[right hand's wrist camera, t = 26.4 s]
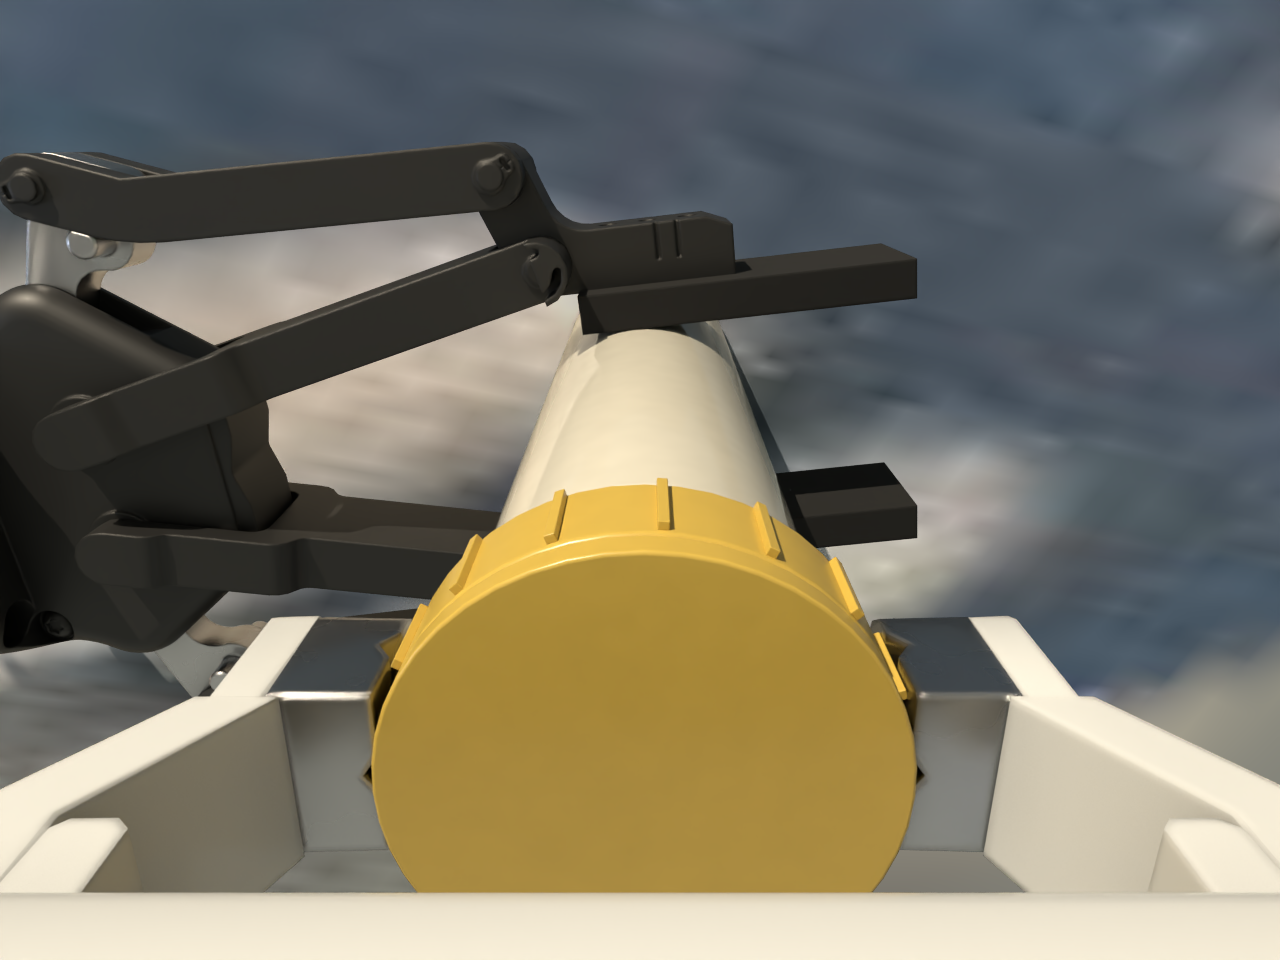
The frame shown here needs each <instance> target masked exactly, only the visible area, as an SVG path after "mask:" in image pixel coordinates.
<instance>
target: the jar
mask: <svg viewBox="0 0 1280 960" xmlns="http://www.w3.org/2000/svg"><path fill="white" fill-rule="evenodd" d="M657 478H667V479H668V486H678V487H683V488H689V489H694V490H699V491H705V492H710V493H714V494H717V495H720V496H723V497H726V498H729V499H732V500H735V501H738V502H742V503H744V504H746V505H748V506H750V507H754V506H755V504H756V502H760V503H762V504H764V505H766V507H767V510H768V513H769V515H770V516H772V517H773V518H775V519H777V520H778V521H780V522H781V523H783V524H784V525H786V526H788V527H789V528H791V529H792V530H794V531H795V532H797V531H796V528H795V525H794V522H793V520H792V517H791V514H790V512H789V509H788V506H787V504H786V501H785V498H784V495H783V493H782V490H781V487H780V485H779V482H778V479H777V476H776V474H775V471H774V468H773V466H772V463H771V460H770V458H769V455H768V452H767V449H766V447H765V444H764V441H763V439H762V436H761V433H760V431H759V428H758V425H757V422H756V420H755V417H754V414H753V412H752V409H751V406H750V404H749V401H748V398H747V395H746V393H745V390H744V387H743V385H742V382H741V379H740V377H739V374H738V371H737V368H736V366H735V363H734V360H733V358H732V355H731V352H730V350H729V347H728V344H727V341H726V339H725V336H724V333H723V331H722V328H721V325H720V322H719V320H715V321H706V322H697V323H688V324H679V325H670V326H661V327H652V328H643V329H634V330H625V331H616V332H607V333H598V334H589V335H583V333H582V326H581V318H580V313H579V315H578V317H577V319H576V322H575V324H574V327H573V329H572V332H571V335H570V337H569V340H568V342H567V345H566V347H565V350H564V353H563V355H562V358H561V360H560V363H559V365H558V368H557V371H556V373H555V376H554V378H553V381H552V383H551V386H550V389H549V391H548V394H547V396H546V399H545V401H544V404H543V407H542V409H541V412H540V414H539V417H538V419H537V422H536V425H535V427H534V430H533V432H532V435H531V437H530V440H529V443H528V445H527V448H526V450H525V453H524V455H523V458H522V461H521V463H520V466H519V468H518V471H517V473H516V476H515V478H514V481H513V484H512V486H511V489H510V491H509V494H508V496H507V499H506V502H505V504H504V507H503V509H502V512H501V514H500V517H499V520H498V522H497V525H496V527H495V529H497V528H499V527H500V526H502V525H503V524H505V523H507V522H508V521H510V520H511V519H513V518H514V517H516V516H518V515H520V514H522V513H524V512H526V511H529V510H531V509H533V508H535V507H537V506H539V505H542V504H544V503H546V502H549V501H552V500H553V496H554V493H555V492H556V491H559V490H562V489H565V491H566V494H567V496H568V495H571V494H574V493H578V492H582V491H588V490H593V489H599V488H605V487H610V486H625V485H643V484H647V485H656V482H657Z"/></svg>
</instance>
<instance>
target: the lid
mask: <svg viewBox="0 0 1280 960" xmlns="http://www.w3.org/2000/svg"><path fill="white" fill-rule="evenodd" d="M391 667H392V668H394V669H396V670H399V671H398V673H397V675H396V677H395V680H394V682H393V684H392V686H391V688H390V690H389V693H388V695H387V697H386V699H385V701H384V703H383V706H382V709H381V713H380V717H379V720H378V724H377V727H376V731H375V734H374V743H373V752H372V761H371V768H372V787H373V796H374V801H375V805H376V810H377V815H378V819H379V823H380V826H381V829H382V831H383V834H384V836H385V839H386V842H387V844H388V847H389V849H390V851H391V853H392V855H393V857H394V858H395V860H396V862H397V864H398V865H399V867H400V869H401V871H402V873H403V874H404V876H405V877H406V878H407V880H408V881H409V882H410V884H411V885H412V886H413V888H414V889H415V890H416V892H417V893H872V892H873V891H874V890H875V888H876V887H877V886H878V885H879V883H880V882H881V881H882V879H883V878H884V876H885V875H886V873H887V871H888V870H889V868H890V866H891V864H892V863H893V861H894V859H895V857H896V856H897V854H898V852H899V849H900V847H901V844H902V842H903V839H904V837H905V834H906V832H907V829H908V826H909V822H910V818H911V813H912V809H913V804H914V800H915V794H916V777H917V761H916V751H915V742H914V735H913V732H912V728H911V724H910V721H909V717H908V713H907V710H906V707H905V705H904V703H903V700H905V699H907V691H906V689H905V686H904V684H903V682H902V680H901V678H900V676H899V674H898V671H897V669H896V667H895V665H894V663H893V661H892V658H891V656H890V654H889V652H888V650H887V648H886V645H885V643H884V641H883V639H882V637H881V635H880V633H879V632H877V633H874V634H873V633H872V631H871V629H870V627H869V624H868V622H867V620H866V618H865V616H864V612H863V610H862V608H861V606H860V604H859V601H858V599H857V597H856V595H855V592H854V590H853V588H852V586H851V583H850V581H849V579H848V577H847V575H846V572H845V570H844V568H843V566H842V563H841V562H840V561H839V560H838V559H837V558H836V557H834V558H833V559H832V560H830V561H828V560H827V559H826V558H825V556H824V555H823V554H822V553H821V552H820V551H818V550H817V549H816V548H815V547H814V546H813V545H811V544H810V543H809V542H808V541H807V540H806V539H804V538H803V537H802V536H801V535H800V534H798V533H797V532H795V531H794V530H792V529H791V528H789V527H788V526H786V525H784V524H783V523H781V522H780V521H778V520H777V519H775V518H773V517H772V516H770V515H769V513H768V510H767V507H766V505H764V504H762V503H760V502H756V504H755V506H754V507H750V506H748V505H746V504H744V503H742V502H738V501H735V500H732V499H729V498H726V497H723V496H720V495H717V494H714V493H710V492H705V491H699V490H694V489H689V488H683V487H678V486H668V479H667V478H657V482H656V485H647V484H643V485H625V486H610V487H605V488H599V489H593V490H588V491H582V492H578V493H574V494H571V495H568V496H567V494H566V491H565V489H562V490H559V491H556V492H555V493H554V496H553V500H552V501H549V502H546V503H544V504H542V505H539V506H537V507H535V508H533V509H531V510H529V511H526V512H524V513H522V514H520V515H518V516H516V517H514V518H513V519H511V520H510V521H508V522H507V523H505V524H503V525H502V526H500V527H499V528H497V529H495V530H494V531H492V532H491V533H490V534H488V535H487V536H486V537H485V538H484V539H482V538H481V537H480V536H479V535H478V534H476V535H475V536H474V537H472V538H471V539H470V541H469V543H468V545H467V548H466V550H465V552H464V555H463V557H462V559H461V560H460V561H459V562H458V563H457V564H456V565H455V567H454V568H453V569H452V570H451V571H450V572H449V573H448V575H447V576H446V578H445V579H444V581H443V582H442V584H441V585H440V587H439V588H438V590H437V591H436V593H435V594H434V596H433V597H432V599H431V602H430V604H429V606H425V605H423V604H420V605H419V607H418V609H417V612H416V614H415V616H414V618H413V620H412V622H411V624H410V626H409V628H408V630H407V632H406V634H405V637H404V639H403V641H402V643H401V645H400V647H399V649H398V651H397V653H396V655H395V657H394V660H393V662H392V664H391Z"/></svg>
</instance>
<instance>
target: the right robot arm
mask: <svg viewBox="0 0 1280 960" xmlns="http://www.w3.org/2000/svg"><path fill="white" fill-rule="evenodd" d="M412 620H413V619H399V618H346V617H324V618H322V617H320V616H305V617H278V618H272V619H271V620H270V621H269V622H268V623H267V624H266V626H265V627H264V628H263V630H262V631H261V632H260V633H259V635H258V636H257V637H256V638H255V640H254V641H253V642H252V644H251V645H250V646H249V647H248V649H247V650H246V651H245V652H244V654H243V655H242V656H241V657H240V659H239V660H238V661H237V663H236V664H235V665H234V666H233V668H232V669H231V670H230V671H229V673H228V674H227V675H226V676H225V678H224V679H223V680H222V682H221V683H220V684H219V685H218V687H217V688H216V689H215V690H214V692H213V693H212V694H211V696H210V697H193V698H191V699H189V700H187V701H185V702H183V703H181V704H178V705H176V706H174V707H172V708H170V709H168V710H166V711H164V712H162V713H160V714H157V715H155V716H153V717H151V718H149V719H147V720H145V721H143V722H141V723H139V724H136V725H134V726H132V727H130V728H128V729H126V730H124V731H122V732H120V733H118V734H115V735H113V736H111V737H109V738H107V739H105V740H103V741H101V742H99V743H97V744H94V745H92V746H90V747H88V748H86V749H84V750H82V751H80V752H78V753H76V754H73V755H71V756H69V757H67V758H65V759H63V760H61V761H59V762H57V763H55V764H52V765H50V766H48V767H46V768H44V769H42V770H40V771H38V772H36V773H34V774H31V775H29V776H27V777H25V778H23V779H21V780H19V781H17V782H15V783H13V784H10V785H8V786H6V787H4V788H2V789H0V960H1280V785H1279V784H1277V783H1275V782H1273V781H1271V780H1269V779H1266V778H1264V777H1262V776H1260V775H1258V774H1256V773H1254V772H1252V771H1250V770H1247V769H1245V768H1243V767H1241V766H1239V765H1237V764H1235V763H1233V762H1231V761H1228V760H1226V759H1224V758H1222V757H1220V756H1218V755H1216V754H1214V753H1212V752H1209V751H1207V750H1205V749H1203V748H1201V747H1199V746H1197V745H1195V744H1193V743H1190V742H1188V741H1186V740H1184V739H1182V738H1180V737H1178V736H1176V735H1174V734H1171V733H1169V732H1167V731H1165V730H1163V729H1161V728H1159V727H1157V726H1155V725H1152V724H1150V723H1148V722H1146V721H1144V720H1142V719H1140V718H1138V717H1136V716H1133V715H1131V714H1129V713H1127V712H1125V711H1123V710H1121V709H1119V708H1117V707H1114V706H1112V705H1110V704H1108V703H1106V702H1104V701H1102V700H1100V699H1098V698H1095V697H1079V696H1078V695H1077V694H1076V692H1075V691H1074V690H1073V689H1072V687H1071V686H1070V685H1069V684H1068V683H1067V681H1066V680H1065V679H1064V678H1063V676H1062V675H1061V674H1060V673H1059V671H1058V670H1057V669H1056V668H1055V666H1054V665H1053V664H1052V663H1051V661H1050V660H1049V659H1048V658H1047V657H1046V655H1045V654H1044V653H1043V652H1042V650H1041V649H1040V648H1039V647H1038V645H1037V644H1036V643H1035V642H1034V640H1033V639H1032V638H1031V637H1030V635H1029V634H1028V633H1027V632H1026V631H1025V629H1024V628H1023V627H1022V626H1021V624H1020V623H1019V622H1018V621H1017V620H1016V619H1014V618H1011V617H1009V616H994V617H972V618H968V617H947V618H905V619H878V620H874V621H872V623H871V626H870V629H871V631H872V633H873V634H874V633H877V632H879V633H880V635H881V637H882V639H883V641H884V643H885V645H886V648H887V650H888V652H889V654H890V656H891V658H892V661H893V663H894V665H895V667H896V669H897V671H898V674H899V676H900V678H901V680H902V682H903V684H904V686H905V689H906V691H907V699H905V700H903V703H904V705H905V707H906V710H907V713H908V717H909V721H910V724H911V728H912V732H913V735H914V742H915V751H916V761H917V777H916V794H915V800H914V804H913V809H912V813H911V818H910V822H909V826H908V829H907V832H906V834H905V837H904V839H903V842H902V844H901V847H900V849H899V850H930V851H967V852H984V854H983V856H984V857H985V858H987V859H988V860H989V861H990V862H991V863H992V864H993V865H994V866H996V867H997V868H998V869H999V870H1000V871H1001V872H1002V873H1004V874H1005V875H1006V876H1007V877H1008V878H1009V879H1011V880H1012V881H1013V882H1014V883H1015V884H1016V885H1017V886H1019V887H1020V888H1021V889H1022V890H1023V891H1024V892H1021V893H1020V892H1019V893H1016V892H1010V893H1008V892H1006V893H1005V892H1004V893H263V892H264V891H266V890H267V889H268V888H269V887H270V886H271V885H272V884H274V883H275V882H276V881H277V880H278V879H279V878H280V877H282V876H283V875H284V874H285V873H286V872H287V871H288V870H290V869H291V868H292V867H293V866H294V865H295V864H296V863H297V862H299V861H300V860H301V859H302V858H303V857H304V852H321V851H356V850H389V847H388V844H387V842H386V839H385V836H384V834H383V831H382V829H381V826H380V823H379V819H378V815H377V810H376V805H375V801H374V796H373V787H372V768H371V761H372V752H373V743H374V734H375V731H376V727H377V724H378V720H379V717H380V713H381V709H382V706H383V703H384V701H385V699H386V697H387V695H388V693H389V690H390V688H391V686H392V684H393V682H394V680H395V677H396V675H397V673H398V671H399V670H396V669H394V668H392V667H391V664H392V662H393V660H394V657H395V655H396V653H397V651H398V649H399V647H400V645H401V643H402V641H403V639H404V637H405V634H406V632H407V630H408V628H409V626H410V624H411V622H412Z"/></svg>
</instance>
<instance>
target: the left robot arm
mask: <svg viewBox="0 0 1280 960" xmlns="http://www.w3.org/2000/svg"><path fill="white" fill-rule="evenodd" d="M0 200H1V201H2V203H3V205H4V206H6V207H7V208H8V209H9V210H10V211H11V212H12V213H13V214H15V215H17V216H19V217H21V218H24V219H26V220H27V251H26V285H21V286H18V287H15V288H12V289H10V290H8V291H6V292H4V293H3V294H1V295H0V654H4V653H11V652H17V651H23V650H28V649H33V648H38V647H42V646H46V645H51V644H55V643H59V642H64V641H70V640H88V641H94V642H99V643H102V644H106V645H109V646H112V647H115V648H118V649H121V650H124V651H128V652H136V653H144V652H153V651H154V652H155V653H156V654H157V655H158V657H159V658H160V659H161V660H162V662H163V663H164V664H165V665H166V667H167V668H168V669H169V670H170V671H171V673H172V674H173V675H174V676H175V678H176V679H177V680H178V681H179V682H180V684H181V685H182V686H183V687H184V689H185V690H186V691H187V692H188V693H189V695H190V696H191V697H192V698H193V697H210V696H211V694H212V693H213V692H214V690H215V689H216V688H217V687H218V685H219V684H220V683H221V682H222V680H223V679H224V678H225V676H226V675H227V674H228V673H229V671H230V670H231V669H232V668H233V666H234V665H235V664H236V663H237V661H238V660H239V659H240V657H241V656H242V655H243V654H244V652H245V651H246V650H247V649H248V647H249V646H250V645H251V644H252V642H253V641H254V640H255V638H256V637H257V636H258V635H259V633H260V632H261V631H262V630H263V628H264V627H265V626H266V624H267V623H266V622H263V621H257V622H255V623H253V624H252V625H240V626H235V627H224V626H221V625H218V624H215V623H214V622H212V621H210V620H209V619H208V618H207V617H206V616H205V615H204V614H205V613H206V612H207V611H209V610H210V609H211V608H212V607H213V606H214V605H215V604H216V603H217V602H218V601H219V600H220V599H221V598H222V597H223V596H224V595H225V594H226V593H228V592H229V591H231V592H241V593H251V594H262V595H283V594H288V593H291V592H294V591H296V590H299V589H302V588H320V589H330V590H340V591H350V592H360V593H370V594H381V595H391V596H401V597H411V598H421V599H432V597H433V596H434V594H435V593H436V591H437V590H438V588H439V587H440V585H441V584H442V582H443V581H444V579H445V578H446V576H447V575H448V573H449V572H450V571H451V570H452V569H453V568H454V567H455V565H456V564H457V563H458V562H459V561H460V560H461V559H462V557H463V555H464V552H465V550H466V548H467V545H468V543H469V541H470V539H471V538H472V537H474V536H475V535H476V534H478V535H479V536H480V537H481V538H482V539H484V538H485V537H486V536H487V535H488V534H490V533H491V532H492V531H494V530H495V527H496V525H497V522H498V520H499V517H500V514H501V513H500V512H491V511H481V510H471V509H461V508H452V507H442V506H432V505H423V504H413V503H403V502H393V501H384V500H374V499H364V498H354V497H345V496H341V495H338V494H337V493H336V492H335V490H334V489H331V488H329V487H325V486H318V485H308V484H299V483H289V482H288V480H287V476H286V473H285V472H284V470H283V468H282V466H281V465H280V463H279V461H278V459H277V458H276V456H275V454H274V452H273V451H272V449H271V447H270V445H269V409H268V405H267V402H266V400H268V399H271V398H274V397H276V396H279V395H282V394H285V393H288V392H291V391H293V390H296V389H299V388H302V387H305V386H308V385H310V384H313V383H316V382H319V381H322V380H325V379H328V378H330V377H333V376H336V375H339V374H342V373H345V372H347V371H350V370H353V369H356V368H359V367H362V366H364V365H367V364H370V363H373V362H376V361H379V360H382V359H384V358H387V357H390V356H393V355H396V354H399V353H401V352H404V351H407V350H410V349H413V348H416V347H418V346H421V345H424V344H427V343H430V342H433V341H436V340H438V339H441V338H444V337H447V336H450V335H453V334H455V333H458V332H461V331H464V330H467V329H470V328H472V327H475V326H478V325H481V324H484V323H487V322H490V321H492V320H495V319H498V318H501V317H504V316H507V315H509V314H512V313H515V312H518V311H521V310H524V309H526V308H529V307H532V306H535V305H538V304H541V303H544V302H545V303H546V305H547V306H549V305H551V304H552V303H554V302H556V301H557V300H558V299H559V298H560V296H562V295H571V294H578V303H579V311H580V318H581V326H582V333H583V335H589V334H598V333H607V332H616V331H625V330H634V329H643V328H652V327H661V326H670V325H679V324H688V323H697V322H706V321H715V320H724V319H734V318H743V317H752V316H761V315H770V314H779V313H788V312H797V311H806V310H815V309H824V308H833V307H842V306H851V305H860V304H869V303H879V302H888V301H897V300H906V299H915V298H917V259H916V258H914V257H912V256H909V255H907V254H905V253H902V252H900V251H897V250H895V249H893V248H890V247H888V246H886V245H883V244H872V245H863V246H855V247H846V248H837V249H828V250H819V251H810V252H801V253H793V254H784V255H775V256H766V257H757V258H748V259H739V260H735V252H734V238H733V224H732V223H731V222H730V221H729V220H727V219H726V218H723V217H720V216H717V215H713V214H710V213H706V212H703V211H698V212H689V213H680V214H673V215H663V216H656V217H645V218H637V219H628V220H619V221H611V222H602V223H593V224H581V223H577V222H574V221H571V220H570V219H568V218H566V217H564V216H563V215H562V214H561V213H560V212H559V211H558V210H557V209H556V207H555V206H554V204H553V203H552V201H551V199H550V197H549V195H548V193H547V191H546V189H545V187H544V185H543V183H542V181H541V179H540V177H539V175H538V173H537V171H536V167H535V164H534V161H533V158H532V157H531V156H530V154H529V153H528V152H527V151H526V149H524V148H523V147H521V146H519V145H517V144H515V143H508V142H482V143H472V144H462V145H452V146H442V147H432V148H422V149H412V150H402V151H392V152H382V153H372V154H362V155H352V156H342V157H332V158H322V159H312V160H302V161H292V162H281V163H271V164H261V165H251V166H241V167H231V168H221V169H211V170H201V171H191V172H181V173H176V172H172V171H168V170H164V169H160V168H157V167H153V166H149V165H145V164H142V163H138V162H134V161H130V160H126V159H123V158H119V157H115V156H111V155H108V154H104V153H97V152H55V153H15V154H12V155H10V156H7V157H5V158H3V159H2V161H1V162H0ZM471 212H479V213H480V215H481V217H482V219H483V220H484V222H485V224H486V226H487V228H488V230H489V232H490V234H491V235H492V237H493V239H494V241H495V243H496V245H494V246H491V247H488V248H486V249H483V250H480V251H477V252H474V253H472V254H469V255H466V256H463V257H461V258H458V259H455V260H452V261H450V262H447V263H444V264H441V265H439V266H436V267H433V268H430V269H428V270H425V271H422V272H419V273H416V274H414V275H411V276H408V277H405V278H403V279H400V280H397V281H394V282H392V283H389V284H386V285H383V286H381V287H378V288H375V289H372V290H370V291H367V292H364V293H361V294H359V295H356V296H353V297H350V298H347V299H345V300H342V301H339V302H336V303H334V304H331V305H328V306H325V307H323V308H320V309H317V310H314V311H312V312H309V313H306V314H303V315H301V316H298V317H295V318H292V319H289V320H287V321H283V322H279V323H275V324H273V325H270V326H267V327H264V328H261V329H259V330H256V331H253V332H250V333H248V334H245V335H242V336H239V337H237V338H234V339H231V340H228V341H226V342H223V343H220V344H217V345H212V344H211V343H209V342H207V341H205V340H203V339H201V338H199V337H197V336H195V335H193V334H191V333H189V332H187V331H185V330H183V329H181V328H179V327H177V326H175V325H173V324H171V323H169V322H167V321H165V320H164V319H162V318H160V317H158V316H156V315H154V314H152V313H150V312H148V311H146V310H144V309H142V308H140V307H138V306H136V305H134V304H132V303H130V302H128V301H126V300H125V299H123V298H121V297H119V296H117V295H115V294H113V293H111V292H109V291H107V290H105V289H103V288H101V283H102V279H103V277H104V276H105V274H106V272H108V271H113V270H118V269H122V268H126V267H130V266H134V265H138V264H141V263H143V262H145V261H146V260H148V259H149V258H150V257H151V256H152V254H153V252H154V250H155V246H156V243H157V242H172V241H182V240H193V239H203V238H213V237H223V236H234V235H244V234H254V233H265V232H275V231H285V230H296V229H306V228H316V227H326V226H337V225H347V224H357V223H368V222H378V221H388V220H398V219H409V218H419V217H429V216H440V215H450V214H460V213H471ZM776 476H777V479H778V482H779V485H780V487H781V490H782V493H783V495H784V498H785V501H786V504H787V506H788V509H789V512H790V514H791V517H792V520H793V522H794V525H795V528H796V531H797V533H798V534H800V535H801V536H802V537H803V538H804V539H806V540H807V541H808V542H809V543H810V544H811V545H813V546H814V547H815V548H822V547H832V546H842V545H852V544H862V543H872V542H882V541H892V540H902V539H912V538H917V505H916V503H915V502H914V501H913V499H912V498H911V497H910V496H909V494H908V493H907V492H906V490H905V489H904V488H903V486H902V485H901V484H900V482H899V481H898V480H897V479H896V477H895V476H894V475H893V473H892V472H891V471H890V469H889V468H888V467H887V465H886V464H885V463H884V462H883V463H874V464H864V465H854V466H845V467H835V468H825V469H815V470H806V471H796V472H786V473H776ZM416 612H417V609H409V610H400V611H392V612H383V613H374V614H365V615H357V616H348V617H346V618H399V619H413V618H414V616H415V614H416Z"/></svg>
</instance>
